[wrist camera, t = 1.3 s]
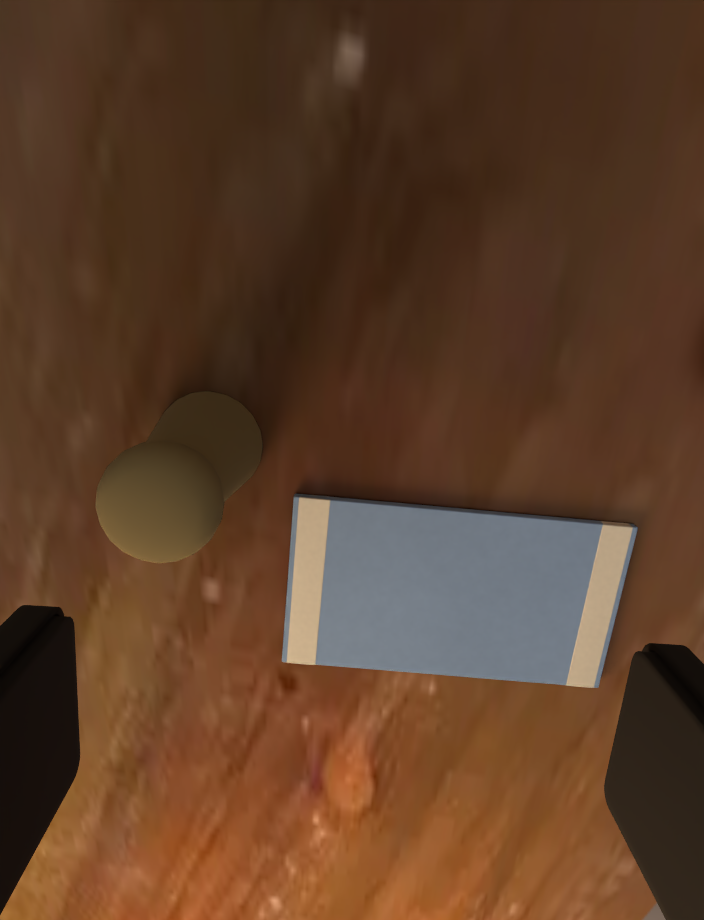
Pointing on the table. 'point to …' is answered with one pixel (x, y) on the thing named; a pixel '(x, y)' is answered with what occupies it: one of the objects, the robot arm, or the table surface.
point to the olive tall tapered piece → (179, 478)
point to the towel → (452, 590)
